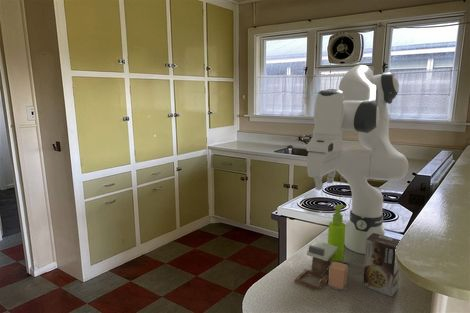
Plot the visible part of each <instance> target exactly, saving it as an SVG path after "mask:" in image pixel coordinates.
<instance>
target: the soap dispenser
mask: <svg viewBox="0 0 470 313" xmlns="http://www.w3.org/2000/svg"><path fill="white" fill-rule="evenodd" d="M346 207H347V205H344V204H340V203H339V204H337V205H335V206H334V207H333V209H334V210H335V212H334V214H332V221H330V222H328V230H327V231H328V233H327V244H330V245H334V246H337V247H338V249H337V251H336V252H335V253H334V254H333V255H332V256H331V262H333V261H334V262H342V261H343V260H344V257H345V256H344V254H345V253H344V252H345V244H344V243H345V229H346V223H344V222H343V217H344V216H343V214H341V210H342V209H343V208H346Z"/></svg>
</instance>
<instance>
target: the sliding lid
mask: <svg viewBox="0 0 470 313" xmlns="http://www.w3.org/2000/svg"><path fill="white" fill-rule="evenodd" d="M337 249H338V247H337V246H334V245H330V244H328V243H326V242H322V241H317V242H316V243H315V244H314V245H312V244H310V245H309V246H308V250H307V252H306V255H307V256H308V257H312V258H313V257H315V258H318V259H321V260H325V261H328V260H329V259H330V257H331V256H332V255H333V254H334V253H335V252H336V251H337Z"/></svg>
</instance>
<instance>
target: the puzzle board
mask: <svg viewBox="0 0 470 313" xmlns="http://www.w3.org/2000/svg"><path fill="white" fill-rule="evenodd" d="M311 261H312V262H311V264H312V265H311V270H309V269H306V268H305V269H303V270H302V272H300V273H299V275H297V276H296V277H295V279H294V283H295V284H298V285H301V286H304V287H306V288H310V289H313V290H315V291H320V289H321V288H322V286H323V285H324V284H325V283H326V282H327V281H328V280H329V275H325V274H324V273H325V272H326V271H327V270H328V268H329V267H330V266H331V264H332V260H331V257H330V259H329V260H328V261H325V260H321V259H318V258H315V257H312V260H311ZM306 275H309V276H312V277H315V278H318V279H319V280H320V281H319V282H318V283H317V284H315V283H311V282H308V281H307V280H303V278H304V277H305V276H306Z"/></svg>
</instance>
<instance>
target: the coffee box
mask: <svg viewBox="0 0 470 313" xmlns="http://www.w3.org/2000/svg"><path fill="white" fill-rule="evenodd" d="M384 235H385V234H384ZM384 235H380V234H376V233H373V234H371V235H370V236H369V237H368V238H367V239H366V248H365V254H364V264H363V276H362V277H363V279H362V286H363V287H365V288H367V289H371V290H372V291H373V290H374V291H376V292H379V293H381V294H384V295H387V296H389V297H393V296H394V294H395V293H396V292H397V290H398V289H399V288H398V287H399V280H400V279H399V277H400V269H399V268H398V267H397V265H396V263H395V249H396V246H397V245H398V243H399V241H400V240H401V239H397V238H396V237H395V238H394V237H392V236H388V235H386V236H384ZM387 236H388V237H387Z"/></svg>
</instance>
